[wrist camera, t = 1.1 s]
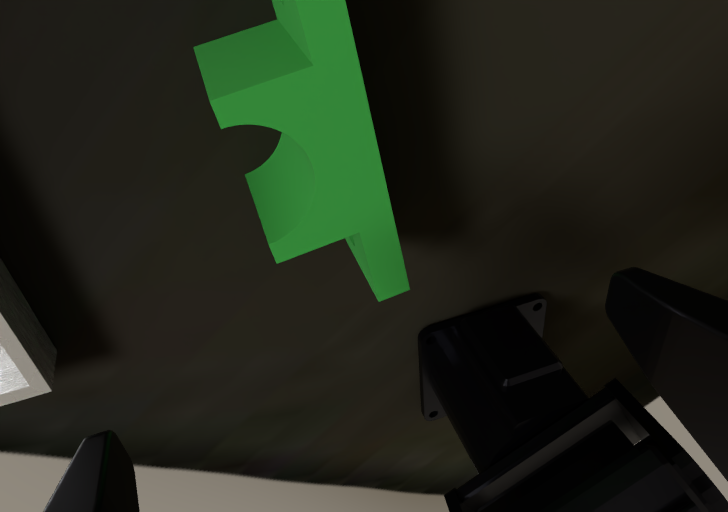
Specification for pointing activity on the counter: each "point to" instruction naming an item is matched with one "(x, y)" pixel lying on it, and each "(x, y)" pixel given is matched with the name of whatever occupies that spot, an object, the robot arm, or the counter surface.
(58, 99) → the counter surface
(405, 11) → the counter surface
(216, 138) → the counter surface
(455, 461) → the counter surface
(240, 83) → the pipe clamp
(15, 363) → the grey rectangular tray
